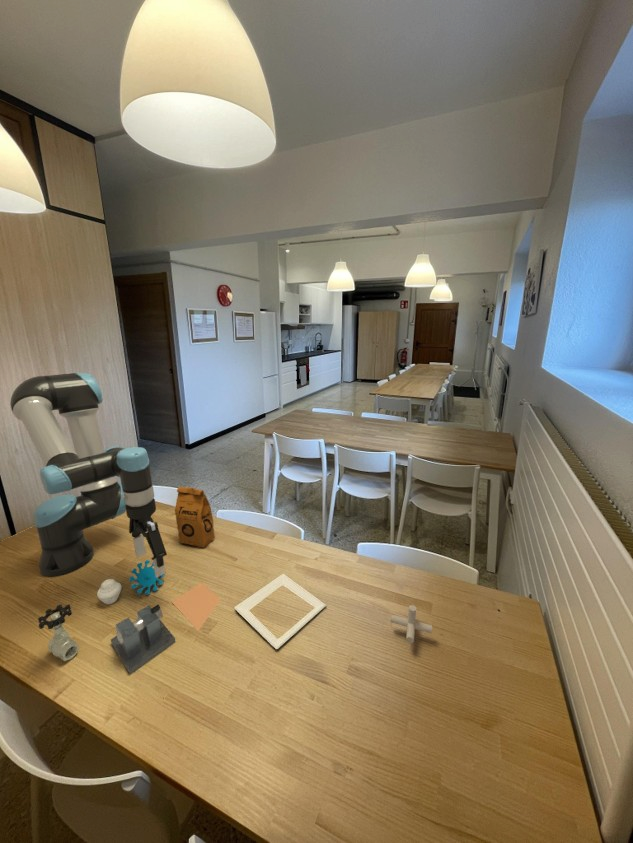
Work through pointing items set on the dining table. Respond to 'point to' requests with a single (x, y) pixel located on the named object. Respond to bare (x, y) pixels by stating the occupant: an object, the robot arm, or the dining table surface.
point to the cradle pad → (197, 604)
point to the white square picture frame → (267, 590)
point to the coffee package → (194, 517)
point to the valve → (59, 633)
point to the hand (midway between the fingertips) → (150, 564)
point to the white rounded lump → (109, 591)
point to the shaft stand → (141, 638)
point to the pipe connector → (411, 624)
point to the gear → (145, 578)
